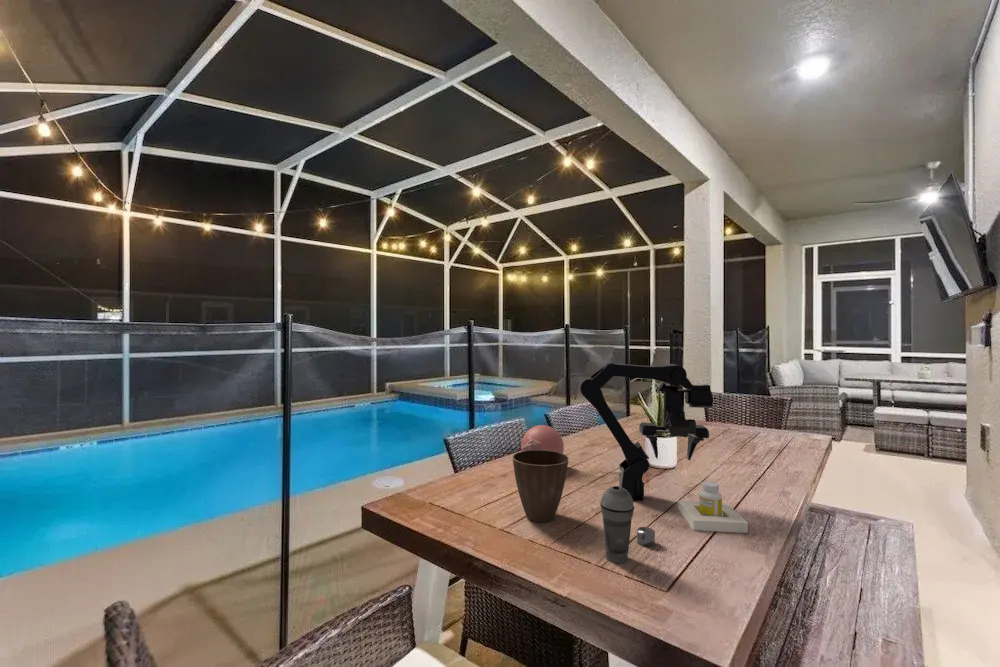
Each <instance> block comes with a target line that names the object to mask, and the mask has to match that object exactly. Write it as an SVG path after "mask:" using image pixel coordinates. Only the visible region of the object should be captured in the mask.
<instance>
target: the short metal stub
mask: <svg viewBox="0 0 1000 667" xmlns="http://www.w3.org/2000/svg"><path fill="white" fill-rule="evenodd" d="M655 539H656V530H654V529H653V528H651V527H646V526H639V527H637V529H636V544H638V545H639V546H640V547H644V548H653V547H655V544H656V542H655V541H656V540H655Z"/></svg>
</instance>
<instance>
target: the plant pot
mask: <svg viewBox="0 0 1000 667" xmlns="http://www.w3.org/2000/svg"><path fill="white" fill-rule="evenodd" d="M512 462H513V465H512V466H513V469H514V470H513V472H514V478H515V482H516V487H517V491H518V494H519V499H520V502H521V504H522V508H523V511H524V513H525V516H526V518H527V519H528V520H530V521H532V522H535V523H547V522H551V521H553V520H554V519H555V516H556V514H557V511H558V508H559V506H560V502H561V499H562V495H563V491H564V487H565V483H566V478H567V473H568V466H569V456H568V455H566V454H564V453H563V454H562V453H559V452H554V451H546V450H529V451H522V450H521V451H518V452H516V453H513V455H512Z"/></svg>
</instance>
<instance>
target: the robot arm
mask: <svg viewBox="0 0 1000 667" xmlns="http://www.w3.org/2000/svg"><path fill="white" fill-rule="evenodd" d="M687 376H688V374H687V370H686V369H685V368H684V367H683V366H680V365H678V364H675V363H666V364H660V365H641V364H640V365H639V364H638V365H637V364H627V363H626V364H625V363H614V362H606V363H605V364H604V366H602V367H601V368H599V370H597V371H596V372H594V373H593V374H592V375H591V376H587V377H584V378H583V379H581V381H580V382H579V390H580V393H581V395H582V396H583V397H584V398H585V399H586V400H587V402H589V403H590V405H592V406H593V407H594V409H596V411H597V413H598V414H599V416H600V417H601V419H602V421H603V422H604V424H606V426H607V428H608V429H609V430H608V431H610V433H611V434H612V435H613V438H614V439H615V440H616V442H617V443H618V445H619V447H620V449H621V452H622V453H623V455H624V458H625V459H624V460H623V461H622V462H620V464H619V465H618V466H619V469H620V471H621V469H622V468H624V472H623V479H622V488H624V489H626V490H627V491H628V492H629V493H630V495H631V497H632V499H633V501H644V496H645V483H644V481H643V476H644V474H646V473H647V472H648V471H649V468H650V462H649V459H650V456H648V454H647V452H646V451H644V449H643V446H642V445H641V443H640V442H639V441H637V442H633V441H632V439H631V438H630V437H629V436H628V434H627V433H626V431H625V430H624V428H623V427H622V425H621V424H620V422H619V420H618V418H617V417H616V415H614V412H613V411H612V409H611V408H610V407H609V405H608V404H607V401H606V398H605V396H604V393H603V392H602V388H603V387H604V386H606V384H607V383H608V382H609V381H610V380H612V378H613V377H624V378H625V377H626V378H634V379H635V378H637V379H648V380H656V381H659V382H662V383H661V384H660V385H659V386H658V387H656V390H657V391H658V392H663V408H662V412H663V413H662V414H663V416H662V418H663V419H662V425H659V426H658V425H656V424H654V422H640V424H639V428H638V429H639V433H640V434H641V435H642V436H645V438H647V439H649V440H648V441H649V442H650V444H651V447H652V450H653V454H654V457H655V459H658V458H659V451H658V450H659V449H658V436H657V435H656V434H657V433H659V434H660V433H661V434H669V435H670V436H671V437H672V438H673V437H674V438H677V437H681V438H682V437H683V438H687V451H686V452H687V453H686V455H687V460H688V461H691V458H692V456H693V454H694V451H695V449H696V447H697V445H699V443H700V442H704V440H705V439H709V438H710V431H709V429H708V428H707V427H706V426H704V424H697V422H696V420H695V419H691V418H689V419H688V418H687V419H686V413H685V404H686V405H687V404H688V406H689V408H694V409H695V408H697V409H698V408H699V409H711V408H712V407H713V404H714V397H713V392H712V389H711V385H709V384H692V382H691V381H690V379H689V378H688V377H687ZM666 384H670V385H666ZM678 386H679V387H681V388H678ZM682 388H683V389H682ZM620 477H621V473H619V474H618V481H619V482H618V486H619V485H620Z"/></svg>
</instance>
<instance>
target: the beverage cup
mask: <svg viewBox="0 0 1000 667" xmlns="http://www.w3.org/2000/svg"><path fill="white" fill-rule="evenodd" d="M623 472H624V468H622V469H621V470H620V474H621V477H620V485H619V484H618V486H617V485H613V486H610V487H609V488H607V489H606V490H605V491H604V492H603V494H602V496H601V498H600V507H601V508H600V509H601V515H602V524H603V537H604V539H603V540H604V550H605V558H606V560H607V561H609V562H611V563H612V564H613V563H614V564H624V563H626V562H627V561H628V555H629V550H630V549H629V548H630V538H631V530H632V529H631V527H632V519H633V515H634V510H635V505H634V500H633V499H632V497H631V495H630V493H629V492H628V491H627V490H626V489H624V488H622V479H623Z"/></svg>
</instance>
